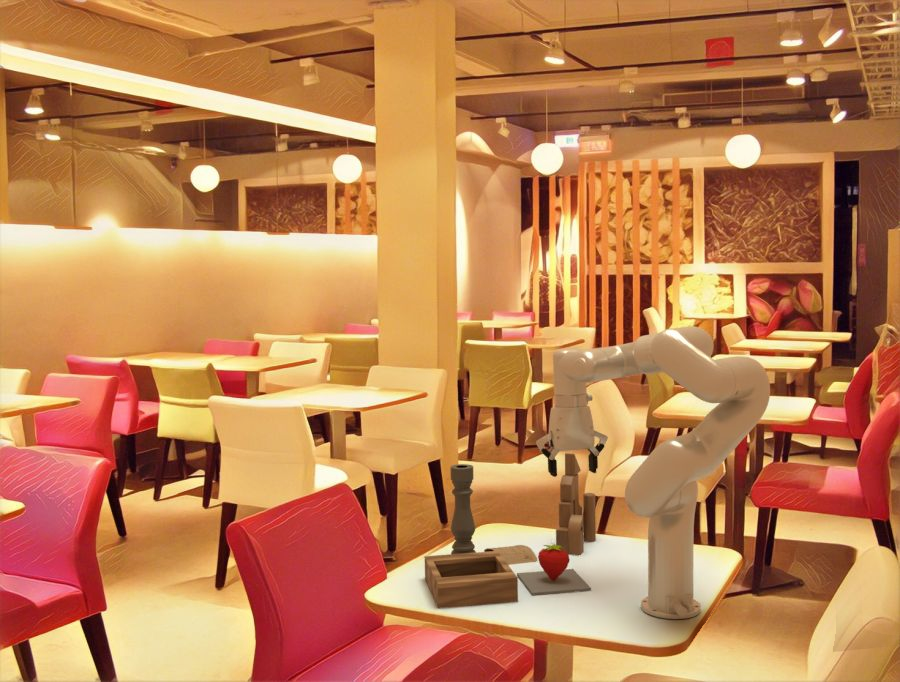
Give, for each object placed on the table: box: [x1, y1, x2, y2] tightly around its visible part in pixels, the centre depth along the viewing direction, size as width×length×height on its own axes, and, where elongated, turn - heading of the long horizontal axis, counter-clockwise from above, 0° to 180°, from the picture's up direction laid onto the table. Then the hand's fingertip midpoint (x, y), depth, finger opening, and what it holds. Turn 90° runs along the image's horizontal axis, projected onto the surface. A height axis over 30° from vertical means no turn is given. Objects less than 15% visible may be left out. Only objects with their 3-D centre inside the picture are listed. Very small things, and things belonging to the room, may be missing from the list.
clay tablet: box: [483, 544, 538, 566], centre depth 246 cm, size 14×10×3 cm
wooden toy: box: [555, 452, 597, 556], centre depth 253 cm, size 16×7×25 cm, turn 156°
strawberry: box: [537, 543, 571, 580], centre depth 225 cm, size 6×8×10 cm
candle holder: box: [449, 463, 477, 554], centre depth 239 cm, size 6×6×25 cm
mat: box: [516, 568, 592, 596], centre depth 226 cm, size 14×14×1 cm
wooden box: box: [424, 550, 519, 608], centre depth 222 cm, size 20×18×6 cm
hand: (573, 473), depth 225 cm, fingers open, 9 cm apart
